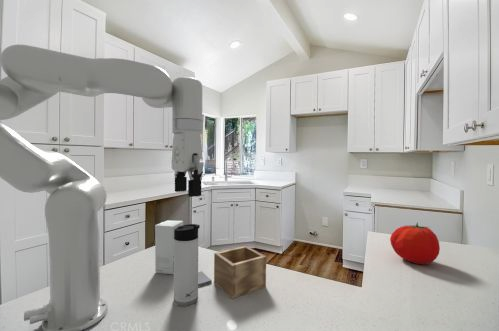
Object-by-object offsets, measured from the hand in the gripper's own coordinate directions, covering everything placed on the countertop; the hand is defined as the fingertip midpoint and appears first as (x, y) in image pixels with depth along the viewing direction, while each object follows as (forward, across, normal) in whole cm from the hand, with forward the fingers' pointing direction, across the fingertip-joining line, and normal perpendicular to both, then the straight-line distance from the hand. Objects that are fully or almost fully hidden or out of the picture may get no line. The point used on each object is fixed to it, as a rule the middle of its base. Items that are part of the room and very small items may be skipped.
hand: (187, 193), depth 66 cm
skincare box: (+28, -21, +2) cm, 35 cm away
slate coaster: (+28, -8, +6) cm, 30 cm away
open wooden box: (+28, +1, +16) cm, 32 cm away
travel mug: (+28, 0, 0) cm, 28 cm away
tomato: (+29, +22, +79) cm, 87 cm away
